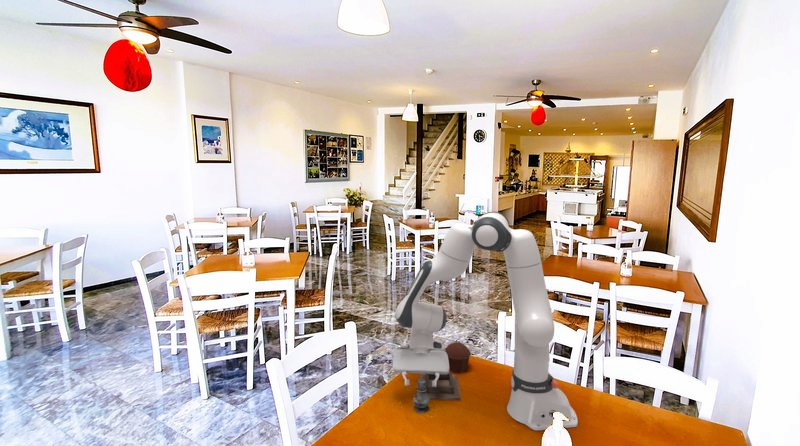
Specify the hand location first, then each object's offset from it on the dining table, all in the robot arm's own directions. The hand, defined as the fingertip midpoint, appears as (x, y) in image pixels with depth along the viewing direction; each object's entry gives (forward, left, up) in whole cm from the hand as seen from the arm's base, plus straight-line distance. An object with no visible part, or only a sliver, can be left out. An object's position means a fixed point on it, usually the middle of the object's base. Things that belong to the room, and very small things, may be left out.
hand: (420, 386), depth 136 cm
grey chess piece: (0, +1, -8) cm, 8 cm away
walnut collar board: (-7, -12, -8) cm, 16 cm away
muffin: (-15, -28, -8) cm, 33 cm away
